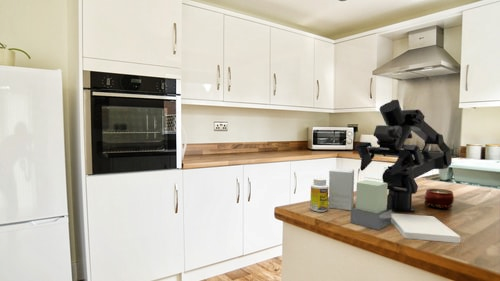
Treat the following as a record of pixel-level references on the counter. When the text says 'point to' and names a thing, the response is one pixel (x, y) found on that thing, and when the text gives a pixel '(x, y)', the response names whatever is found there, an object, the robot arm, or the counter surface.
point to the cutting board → (423, 228)
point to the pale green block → (371, 196)
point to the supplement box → (341, 188)
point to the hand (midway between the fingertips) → (375, 171)
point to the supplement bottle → (319, 195)
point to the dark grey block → (371, 218)
